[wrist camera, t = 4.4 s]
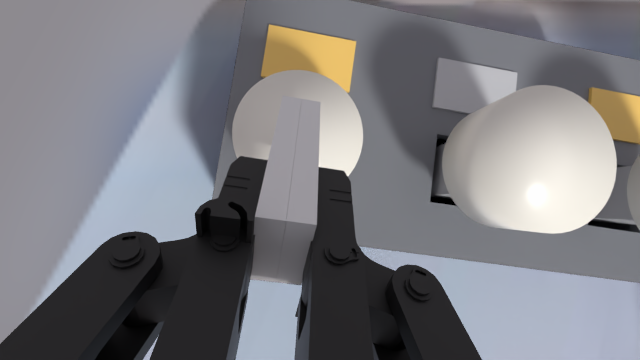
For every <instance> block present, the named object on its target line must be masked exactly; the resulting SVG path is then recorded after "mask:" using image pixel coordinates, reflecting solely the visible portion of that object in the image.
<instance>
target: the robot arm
mask: <svg viewBox="0 0 640 360" xmlns="http://www.w3.org/2000/svg"><path fill="white" fill-rule="evenodd" d="M320 104H321V102H317V101H312V100H306V99H300V98H294V97H289V96H283V97H282V101H281V105H280V110H279V114H278V118H277V123H276V127H275V131H274V136H273V140H272V144H271V149H270V153H269V157H268V160H264V159H257V158H251V157H244V156H240V157H239V158H237V159H236V160H235V161H234V162H233V163H232V164H231V165H230V167H229V170H228V173H227V175H226V178H225V181H224V183H223V187H222V189H221V191H220V194H219V197H218V198H216V199H213V200H209V201H207V202H206V203H204V204H203V205H201V206H200V207H199V209H198V210H197V211H196V213H195V220H196V231H197V234H196V235H193V236H191V237H189V238H185V239H181V240H175V241H168V242H161V243H158V242H157V240H156V238H154V237H153V236H151V235H149V234H147V233H143V232H136V231H135V232H128V233H122V234H120V235H117V236H115V237H112V238H110V239H109V240H108V241H106V242H105V243H103V244H102V245H101V246H100V247H99V248H98V249H97V250H96V251H95V252H94V253H93V254H92V255H91V256H90V257H89V258H87V259H86V260H85V261H84V262H83V263H82V264H81V265H80V266H79V267H78V268H77V269H76V270H75V271H74V272H73V273H72V274H71V275H70V276H69V277H68V278H67V279H66V280H65V281H64V282H63V283H62V284H61V285H60V286H59V287H58V288H57V289H56V290H55V291H54V292H53V293H52V294H51V295H50V296H49V297H48V298H47V299H46V300H45V301H44V302H43V303H42V304H41V305H40V306H38V307H37V308H36V309H35V310H34V311H33V312H32V313H31V314H30V315H29V316H28V317H27V318H26V319H25V320H24V321H23V322H22V323H21V324H20V325H19V326H18V327H17V328H16V329H15V330H14V331H13V332H12V333H11V334H10V335H9V336H8V337H7V338H6V339H5V340H4V341H3V342H2V343H1V344H0V360H143V358H144V357H145V355H146V354H147V352H148V351H149V349H150V348H151V346H152V345H153V343H154V341H155V340H156V338H157V337H158V335H159V337H158V339H157V342H156V344H155V347H154V349H153V352H152V355H151V357H150V360H235V359H236V354H237V349H238V343H239V338H240V333H241V328H242V323H243V318H244V313H245V308H246V303H247V297H248V287H249V282H250V279H251V280H260V281H269V282H278V283H287V284H296V285H301V283H302V293H301V297H300V301H299V304H298V308H297V312H296V315H295V317H298V320H297V334H296V348H295V360H482V359H481V357H480V355H479V354H478V352H477V350H476V348H475V346H474V344H473V342H472V341H471V339H470V337H469V335H468V333H467V331H466V330H465V328H464V326H463V324H462V322H461V320H460V319H459V317H458V315H457V313H456V311H455V309H454V307H453V306H452V304H451V302H450V300H449V298H448V296H447V295H446V293H445V291H444V289H443V287H442V285H441V284H440V282H439V281H438V280H437V278H436V277H435V276H434V275H433V274H431V273H430V272H429V271H428V270H426V269H424V268H422V267H419V266H417V265H404V266H401V267H399V268H398V269H397V270H396V271H394V270H392V269H389V268H387V267H385V266H382V265H380V264H378V263H376V262H374V261H372V260H370V259H369V258H368V257H367V256H365V255H364V253H363V252H362V251H361V249H360V247H359V246H358V244H357V241H356V236H355V225H354V213H353V204H352V195H351V193H352V191H351V181H350V180H349V178H348V176H347V175H346V173H345V172H344V171H342V170H335V169H329V168H322V167H319V137H320Z"/></svg>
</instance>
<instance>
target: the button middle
mask: <svg viewBox="0 0 640 360" xmlns="http://www.w3.org/2000/svg"><path fill="white" fill-rule="evenodd" d="M616 170H617V159H616V151H615V147H614V142H613V139H612V136H611V134H610V131H609V129H608V127H607V125H606V123H605V122H604V120H603V119H602V117H601V116H600V115H599V113H598V112H597V111H596V110H595V109H594V108H593V107H592V106H591V105H590V104H589V103H588V102H587V101H586V100H584V99H583V98H582V97H580V96H579V95H577V94H575V93H573V92H571V91H569V90H566V89H564V88H560V87H556V86H550V85H536V86H529V87H526V88H523V89H520V90H518V91H516V92H513V93H511V94H509V95H507V96H505V97H503V98H501V99H499V100H497V101H495V102H493V103H491V104H489V105H487V106H485V107H483V108H481V109H479V110H477V111H475V112H473V113H471V114H469V115H467V116H466V117H464V118H463V119H462V120H461V121H460V122H459V123H458V124H457V125H456V126H455V127H454V128H453V130H452V132H451V133H450V135H449V137H448V139H447V141H446V143H445V144H442V145H440V146H437V147H436V151H435V160H434V169H433V179H432V188H431V197H437V198H444V199H451V200H453V201H454V203H455V204H456V205H457V206H458V207H459V209H460V210H461V211H462V212H463V213H465V214H466V215H467V216H468V217H470V218H471V219H472V220H474V221H476V222H478V223H480V224H483V225H486V226H489V227H494V228H502V229H511V230H521V231H530V232H539V233H551V234H555V233H564V232H569V231H572V230H575V229H578V228H580V227H582V226H583V225H585V224H587V223H588V222H590V221H591V220H592V219H593V218H595V217H596V216H597V215H598V213H599V212H600V211H601V210H602V209H603V207H604V206H605V205H606V203H607V201H608V199H609V197H610V195H611V192H612V190H613V187H614V183H615V179H616Z"/></svg>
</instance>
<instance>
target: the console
mask: <svg viewBox="0 0 640 360" xmlns="http://www.w3.org/2000/svg"><path fill="white" fill-rule="evenodd" d="M287 70H305V71H311V72H315V73H318V74H321V75H323V76H325V77H327V78H329V79H331V80H333V81H334V82H335V83H337V84H338V85H339V86H341V87H342V88H343V89H344V90H345V91H346V92H347V94H348V95H349V96H350V97H351V99H352V100H353V102H354V103H355V105H356V107H357V109H358V112H359V115H360V118H361V122H362V127H363V145H362V150H361V154H360V156H359V159H358V162H357V164H356V166H355V168H354V169H353V170H352V172H351V173H350V175H349V176H348V178H349V180H350V181H351V191H352V193H351V195H352V204H353V213H354V225H355V236H356V241H357V244H358V246H361V247H369V248H377V249H384V250H392V251H400V252H407V253H415V254H422V255H430V256H438V257H445V258H453V259H461V260H468V261H476V262H483V263H491V264H499V265H506V266H514V267H522V268H529V269H537V270H544V271H552V272H560V273H567V274H575V275H583V276H590V277H598V278H605V279H613V280H621V281H628V282H636V283H640V230H639V229H638V227H637V225H634V224H616V223H604V222H598V221H590V222H588V223H587V224H585V225H583V226H582V227H580V228H578V229H575V230H572V231H569V232H564V233H555V234H551V233H539V232H530V231H521V230H511V229H502V228H494V227H489V226H486V225H483V224H480V223H478V222H476V221H474V220H472V219H471V218H470V217H468V216H467V215H466V214H465V213H463V212H462V211H461V210H460V209H459V207H458V206H454V205H447V204H440V203H434V202H430V197H431V188H432V179H433V169H434V160H435V151H436V142H437V139H442V140H447V139H448V137H449V135H450V133H451V132H452V130H453V128H454V127H455V126H456V125H457V124H458V123H459V122H460V121H461V120H462V119H463V118H464V117H466V116H467V115H469V114H471V113H473V112H475V111H477V110H479V109H481V108H483V107H485V106H487V105H489V104H491V103H493V102H495V101H497V100H499V99H501V98H503V97H505V96H507V95H509V94H511V93H513V92H516V91H518V90H520V89H523V88H526V87H529V86H536V85H550V86H556V87H560V88H564V89H566V90H569V91H571V92H573V93H575V94H577V95H579V96H580V97H582V98H583V99H584V100H586V101H587V102H588V103H589V104H590V105H591V106H592V107H593V108H594V109H595V110H596V111H597V112H598V113H599V115H600V116H601V117H602V119H603V120H604V122H605V123H606V125H607V127H608V129H609V131H610V134H611V136H612V139H613V142H614V147H615V151H616V159H617V167H625V166H632V165H633V163H634V162H635V160H636V158H637V157H638V156H639V154H640V60H636V59H631V58H626V57H621V56H617V55H612V54H607V53H602V52H597V51H592V50H587V49H583V48H578V47H573V46H568V45H563V44H558V43H554V42H549V41H544V40H539V39H534V38H529V37H525V36H520V35H515V34H510V33H505V32H500V31H496V30H491V29H486V28H481V27H476V26H471V25H467V24H462V23H457V22H452V21H447V20H442V19H437V18H433V17H428V16H423V15H418V14H413V13H408V12H404V11H399V10H394V9H389V8H384V7H379V6H375V5H370V4H365V3H360V2H355V1H350V0H246V4H245V10H244V15H243V21H242V27H241V33H240V39H239V45H238V51H237V57H236V62H235V68H234V74H233V80H232V86H231V92H230V98H229V103H228V109H227V115H226V121H225V127H224V133H223V139H222V145H221V150H220V156H219V162H218V168H217V174H216V180H215V186H214V191H213V197H212V200H213V199H216V198H218V197H219V194H220V191H221V189H222V187H223V183H224V181H225V178H226V175H227V173H228V170H229V167H230V165H231V164H232V163H233V162H234V161H235V160H236V159H237V157H236V154H235V150H234V146H233V141H232V127H233V120H234V116H235V113H236V110H237V108H238V105H239V104H240V102H241V100H242V98H243V97H244V96H245V94H246V93H247V92H248V91H249V90H250V89H251V88H252V87H253V86H254V85H255V84H256V83H258V82H259V81H260V80H262V79H264V78H266V77H267V76H270V75H272V74H275V73H278V72H282V71H287Z"/></svg>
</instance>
